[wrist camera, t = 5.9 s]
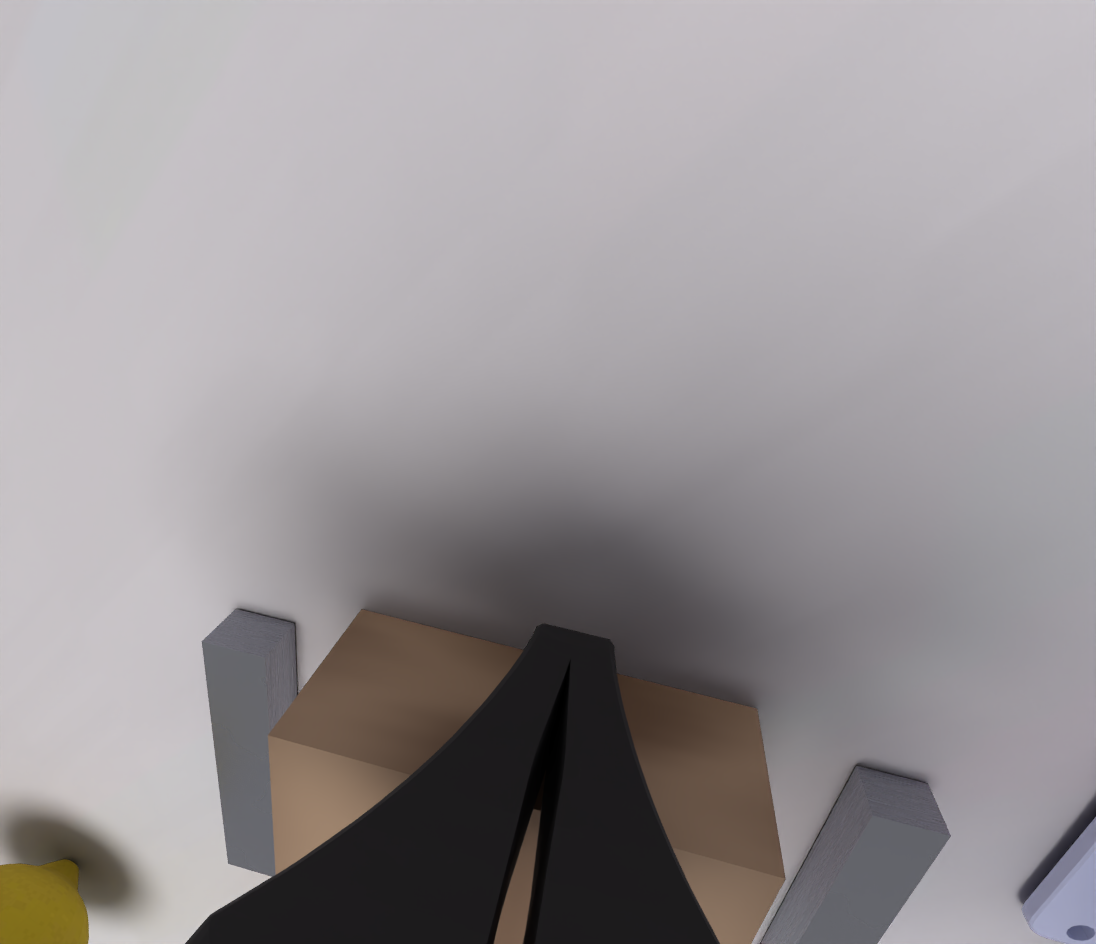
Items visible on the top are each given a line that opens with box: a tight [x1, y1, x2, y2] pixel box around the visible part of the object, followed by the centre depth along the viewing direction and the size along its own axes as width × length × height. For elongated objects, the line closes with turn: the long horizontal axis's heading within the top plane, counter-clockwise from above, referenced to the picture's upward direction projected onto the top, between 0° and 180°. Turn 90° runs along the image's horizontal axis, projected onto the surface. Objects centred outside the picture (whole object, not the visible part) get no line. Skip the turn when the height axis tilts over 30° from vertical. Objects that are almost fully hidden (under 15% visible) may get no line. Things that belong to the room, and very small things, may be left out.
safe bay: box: [202, 609, 951, 944], centre depth 15 cm, size 16×8×1 cm, turn 81°
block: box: [268, 609, 786, 944], centre depth 14 cm, size 9×6×4 cm, turn 81°
